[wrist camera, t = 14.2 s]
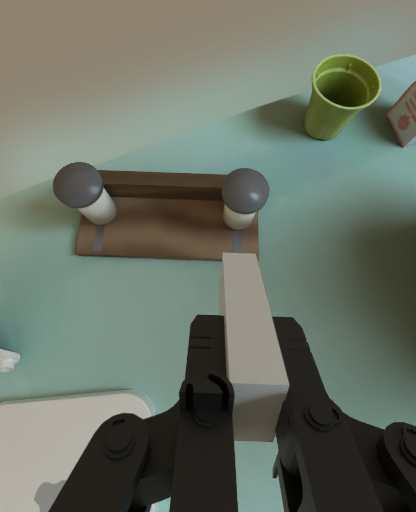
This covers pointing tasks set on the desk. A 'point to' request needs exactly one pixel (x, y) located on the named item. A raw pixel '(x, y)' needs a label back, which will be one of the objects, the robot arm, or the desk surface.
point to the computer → (53, 442)
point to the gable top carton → (405, 117)
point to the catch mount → (165, 219)
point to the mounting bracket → (8, 360)
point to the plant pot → (339, 94)
